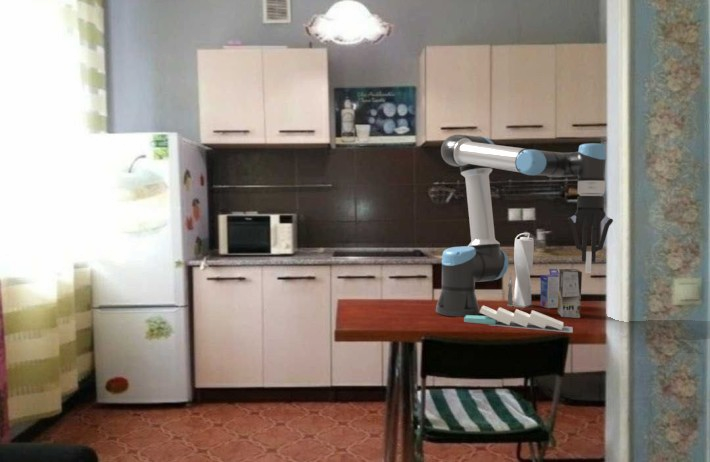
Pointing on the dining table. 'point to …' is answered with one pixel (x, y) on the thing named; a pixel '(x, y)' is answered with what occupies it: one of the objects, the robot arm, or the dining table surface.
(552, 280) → the ink cartridge box
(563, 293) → the coffee box
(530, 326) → the gray flat rectangular plate
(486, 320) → the teal domino
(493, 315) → the domino
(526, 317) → the domino
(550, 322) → the domino
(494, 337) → the dining table surface
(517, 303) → the skyscraper
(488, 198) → the robot arm
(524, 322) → the domino
